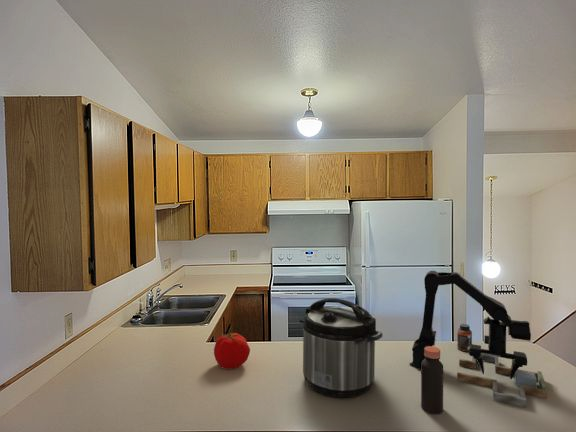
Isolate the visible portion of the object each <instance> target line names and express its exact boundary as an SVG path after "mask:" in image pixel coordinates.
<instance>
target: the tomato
mask: <svg viewBox="0 0 576 432" xmlns="http://www.w3.org/2000/svg"><path fill="white" fill-rule="evenodd" d="M220 335H221V336H219V337H218V338H217V340H216V341H215V344H214V347H213V355H214V358H215V361H216V363H217V365H218V366H219V367H220V368H222V369H226V370H232V369H238V368H240V367H242V365H244V363H246V362H247V361H248V358H249V356H250V352H251V348H250V345H249V343H248V342H247V339H246V338H245V337H244V336H242V335H241V334H239V333H237V332H230V333H228V334H222V333H220Z"/></svg>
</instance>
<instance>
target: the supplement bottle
mask: <svg viewBox="0 0 576 432" xmlns="http://www.w3.org/2000/svg"><path fill="white" fill-rule="evenodd" d="M472 332H473V331H472V330H471V329H470V325H469V324H465V323H460V324H459V328H458V329H457V333H456V334H457V336H456V337H457V344H456V346H457V349H458V350H459V351H462V352H468V353H470V345H471V344H472V343H473V333H472Z"/></svg>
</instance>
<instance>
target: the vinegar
mask: <svg viewBox="0 0 576 432" xmlns="http://www.w3.org/2000/svg"><path fill="white" fill-rule="evenodd" d="M424 355H425V359H424V360H423V361H422V362H421V369H420V371H421V372H420V373H421V374H420V379H421V381H420V385H421V386H420V387H421V388H420V389H421V391H420V395H421V396H420V406H421V409H422V410H423V411H424V412H427V413H429V414H432V415H438V414H442V412H443V411H444V364H443V362H441V361H440V359H441V349H440V348H439V347H436V346H427V347H425V348H424Z"/></svg>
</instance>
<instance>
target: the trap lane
mask: <svg viewBox="0 0 576 432" xmlns="http://www.w3.org/2000/svg"><path fill="white" fill-rule="evenodd" d="M473 357H474V356H472V360H468V359H464V358H463V359H462V358H459V359H458V365H459V366H460V367H462V368H463V367H464V368H470V369H474V370H475V369H476V367H477V366H476V361H477V359H474V358H473ZM482 357H483V362H487V363H493V364H494V370H495V371H494V373H496V374H502V375H506V376H510V372H511V367H508V366H507V367H506V366H501V365H500V362H499V357H496V356H490V355H484V354H482ZM517 370H518V371H524V372H530V373H534V374H535V377H536V379H537V383H538V384H537V385H538V387H539V388H538V387H536V388H534V387H529V386H524V385H519V387H518V392H519V396H515V395H510V394H506V393H501V392H498V383H497V382H498V381H497V379H492V378H489V377H483V376H479V375H478V376H477V375H474V374H469V373H465V372H464V373H463V372H458V371H456V372H457V373H456V378H457V379H456V380H457V381H460V382H461V381H462V382H464V383H465V382H466V383H471V384H476V385H479V386H484V387H489V388H492V394H493V395H492V398H493V401H495V402H499V403H504V404H507V405H511V406H512V405H513V406H517V407H521V408H525V409H526V408H527V397H526V395H528V396H533V397H537V398H542V399H548V387H547V384H546V382H545V381H546V380H545V378H544V375H543V372H542V371H539V370H537V372H536V371H535V372H534V371H528V370H523V369H520V368H518V369H517ZM513 377H515V374H514V376H513Z"/></svg>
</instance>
